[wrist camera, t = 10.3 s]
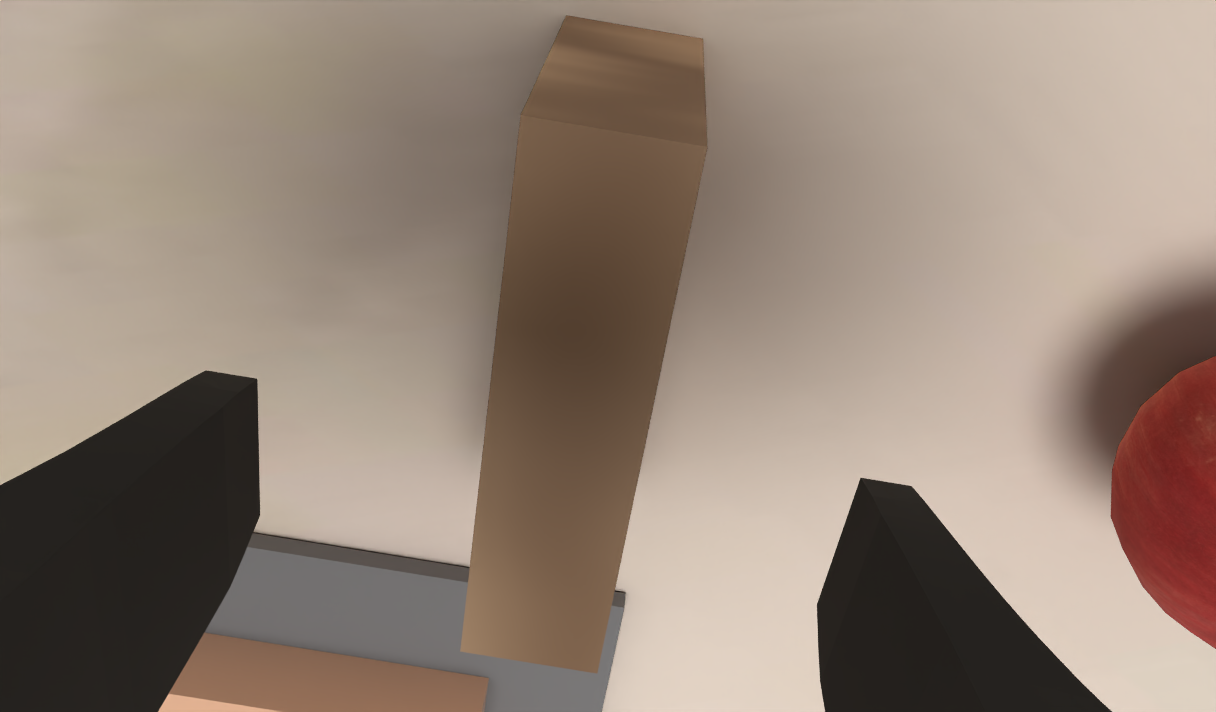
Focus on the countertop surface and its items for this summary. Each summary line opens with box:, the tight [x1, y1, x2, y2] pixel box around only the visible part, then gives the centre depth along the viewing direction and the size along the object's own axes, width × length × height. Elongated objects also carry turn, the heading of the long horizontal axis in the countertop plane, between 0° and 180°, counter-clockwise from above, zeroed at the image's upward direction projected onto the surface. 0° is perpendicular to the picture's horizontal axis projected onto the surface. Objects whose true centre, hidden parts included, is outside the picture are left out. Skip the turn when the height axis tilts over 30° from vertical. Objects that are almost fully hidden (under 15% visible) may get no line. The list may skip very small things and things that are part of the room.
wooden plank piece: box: [460, 15, 707, 674], centre depth 19 cm, size 2×10×6 cm, turn 171°
